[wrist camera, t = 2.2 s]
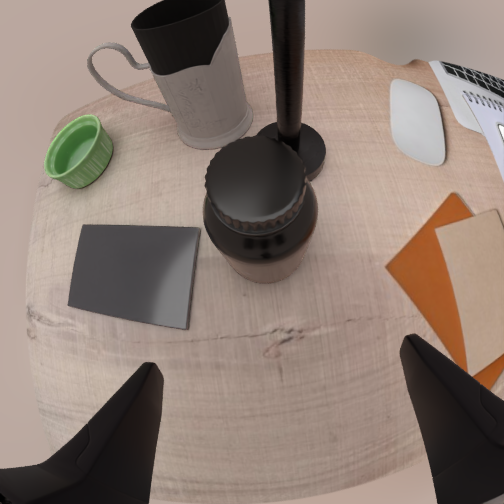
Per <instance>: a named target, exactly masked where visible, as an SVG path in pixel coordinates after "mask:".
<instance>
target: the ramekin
mask: <svg viewBox="0 0 504 504" xmlns="http://www.w3.org/2000/svg"><path fill="white" fill-rule="evenodd" d="M112 150H113V146H112V141H111V139H110V138H109V136H108V134H107V133H106V131H105V130H104V129H103V127H102V125H101V122H100V120H99V119H98V117H96V116H95V115H90V114H88V115H83V116H80V117H78V118H76V119H75V120H73V121H72V122H70V123H69V124H68V125H66V126H65V127H64V128H63V129H62V130H61V131H60V132H59V133H58V135H57V136H56V137H55V139H54V140H53V142H52V143H51V145H50V147H49V149H48V151H47V154H46V157H45V162H44V168H45V172H46V174H47V175H48V176H49V177H51V178H53V179H57V180H59V181H60V182H62V183H64V184H66V185H67V186H69V187H71V188H82V187H85V186H87V185H88V184H90V183H92V182H93V181H94V180H95V179H96V178H98V177H99V175H100V174H101V173H102V172H103V171H104V169H105V168H106V166H107V164H108V162H109V160H110V158H111V155H112Z"/></svg>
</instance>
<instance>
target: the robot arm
mask: <svg viewBox="0 0 504 504" xmlns="http://www.w3.org/2000/svg"><path fill="white" fill-rule="evenodd" d="M400 358H401V362H402V366H403V371H404V375H405V379H406V384H407V388H408V392H409V395H410V398H411V401H412V404H413V407H414V410H415V414H416V417H417V420H418V423H419V427H420V430H421V434H422V437H423V441H424V445H425V448H426V452H427V456H428V460H429V464H430V469H431V473H432V477H433V483H434V488H435V493H436V498H437V503H438V504H504V401H503V400H502V399H500V398H499V397H497V396H496V395H495V394H493V393H492V392H491V391H489V390H488V389H487V388H486V387H484V386H483V385H482V384H480V383H479V382H478V381H477V380H475V379H474V378H473V377H472V376H470V375H469V374H468V373H467V372H465V371H464V370H463V369H462V368H460V367H459V366H458V365H456V364H455V363H454V362H452V361H451V360H450V359H449V358H447V357H446V356H445V355H443V354H442V353H441V352H439V351H438V350H437V349H436V348H434V347H433V346H432V345H430V344H429V343H428V342H426V341H425V340H424V339H422V338H421V337H420V336H418V335H417V334H410V335H406V336H405V337H404V339H403V343H402V345H401V348H400ZM163 385H164V378H163V375H162V373H161V371H160V370H159V368H158V366H157V365H156V364H155V363H153V362H145V363H143V364H142V365H141V366H140V367H139V368H138V370H137V371H136V372H135V373H134V374H133V375H132V376H131V377H130V378H129V379H128V380H127V381H126V382H125V383H124V384H123V385H122V387H121V388H120V389H119V390H118V391H117V392H116V393H115V394H114V395H113V396H112V397H111V398H110V399H109V400H108V401H107V403H106V404H105V405H104V406H103V407H102V408H101V409H100V410H99V411H98V412H97V413H96V414H95V415H94V416H93V417H92V419H91V420H90V421H89V422H88V424H86V425H85V426H84V427H83V428H82V429H81V430H80V431H79V432H78V433H77V434H76V435H75V436H74V437H73V438H72V439H71V440H70V441H69V442H68V443H67V444H65V445H64V446H63V447H62V448H61V449H60V450H58V451H57V452H56V453H55V454H54V455H52V456H51V457H50V458H49V459H48V460H46V461H45V462H43V463H40V464H37V465H32V466H25V467H16V468H7V469H0V504H149V498H150V489H151V481H152V474H153V466H154V459H155V453H156V446H157V440H158V434H159V428H160V422H161V415H162V400H163Z"/></svg>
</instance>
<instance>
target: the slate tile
mask: <svg viewBox="0 0 504 504" xmlns="http://www.w3.org/2000/svg"><path fill="white" fill-rule="evenodd" d="M199 237H200V228H198V227H170V226H136V225H82V229H81V234H80V238H79V242H78V247H77V252H76V257H75V262H74V267H73V273H72V279H71V285H70V292H69V300H68V306H70V307H74V308H78V309H82V310H86V311H91V312H95V313H99V314H104V315H108V316H113V317H117V318H122V319H127V320H132V321H137V322H143V323H148V324H154V325H159V326H165V327H171V328H178V329H184V330H188V325H189V316H190V306H191V298H192V289H193V281H194V273H195V265H196V258H197V251H198V244H199Z"/></svg>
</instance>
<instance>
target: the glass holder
mask: <svg viewBox="0 0 504 504" xmlns="http://www.w3.org/2000/svg"><path fill="white" fill-rule="evenodd" d="M131 27H132V29H133V31H134V33H135V35H136V38H137V40H138V42H139V43H140V46H141V48H142V50H143V52H144V54H145V56H146V58H147V60H148V62H149V63H146V64H139V63H137V62H136V61H135V60H134V58H133V57H132V55H131V54H130V52H129V51H128V50H127V49H126V48H125V47H123V46H122V45H120V44H117V43H104V44H101V45H99V46H98V47H96V48H95V49H94V50H93V51H92V52H91V54H90V55H89V57H88V59H87V67H88V69H89V71H90V73H91V75H92V76H93V77H94V78H95V80H96V81H97V82H98V83H99V84H100V85H101V86H102V87H104V88H105V89H106V90H108V91H109V92H111V93H112V94H114V95H116V96H117V97H119V98H121V99H123V100H127V101H130V102H134V103H138V104H142V105H146V106H150V107H154V108H158V109H162V110H165V111H168V112H170V113H171V114H172V116H173V117H174V118H175V120H176V122H177V132H178V135H179V137H180V139H181V140H182V141H183V142H184V143H185V144H187V145H188V146H190V147H193V148H197V149H215V148H220V147H223V146H226V145H228V144H229V143H230V142H234V141H236V140H237V139H239V138H240V137H241V136H243V135H244V134H245V133H246V131H247V130H248V129H249V127H250V125H251V123H252V120H253V112H252V109H251V107H250V105H249V104H248V102H247V101H246V96H245V91H244V85H243V80H242V74H241V69H240V64H239V58H238V53H237V48H236V44H235V38H234V33H233V27H232V22H231V18H230V17H228V14H227V9H226V5H225V0H163V1H161V2H158V3H156V4H154V5H153V6H151V7H149V8H147V9H146V10H144V11H143V12H141V13H140V14H139V15H138V16H136V17H135V19H134V20H133V21H132V23H131ZM105 48H111V49H115V50H117V51H119V52H121V53H122V54H123V55H124V56H125V57H126V59H127V60H128V62H129V63H130V65H131V66H132V67H134V68H135V69H138V70H141V69H142V70H143V69H147V68H150V71H151V73H152V74H153V76H154V79H155V81H156V83H157V85H158V87H159V89H160V91H161V93H162V95H163V97H164V99H165V101H166V103H167V105H165V104H162V103H158V102H154V101H150V100H145V99H142V98H138V97H135V96H131V95H128V94H126V93H124V92H122V91H120V90H118V89H116V88H114V87H113V86H111V85H109V84H108V83H107V82H106V81H105V80H104V79H103V78H102V77H101V76H100V75H99V74H98V73H97V71H96V70H95V68H94V66H93V64H92V56H93V54H95V53H96V52H97V51H99V50H100V49H105Z"/></svg>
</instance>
